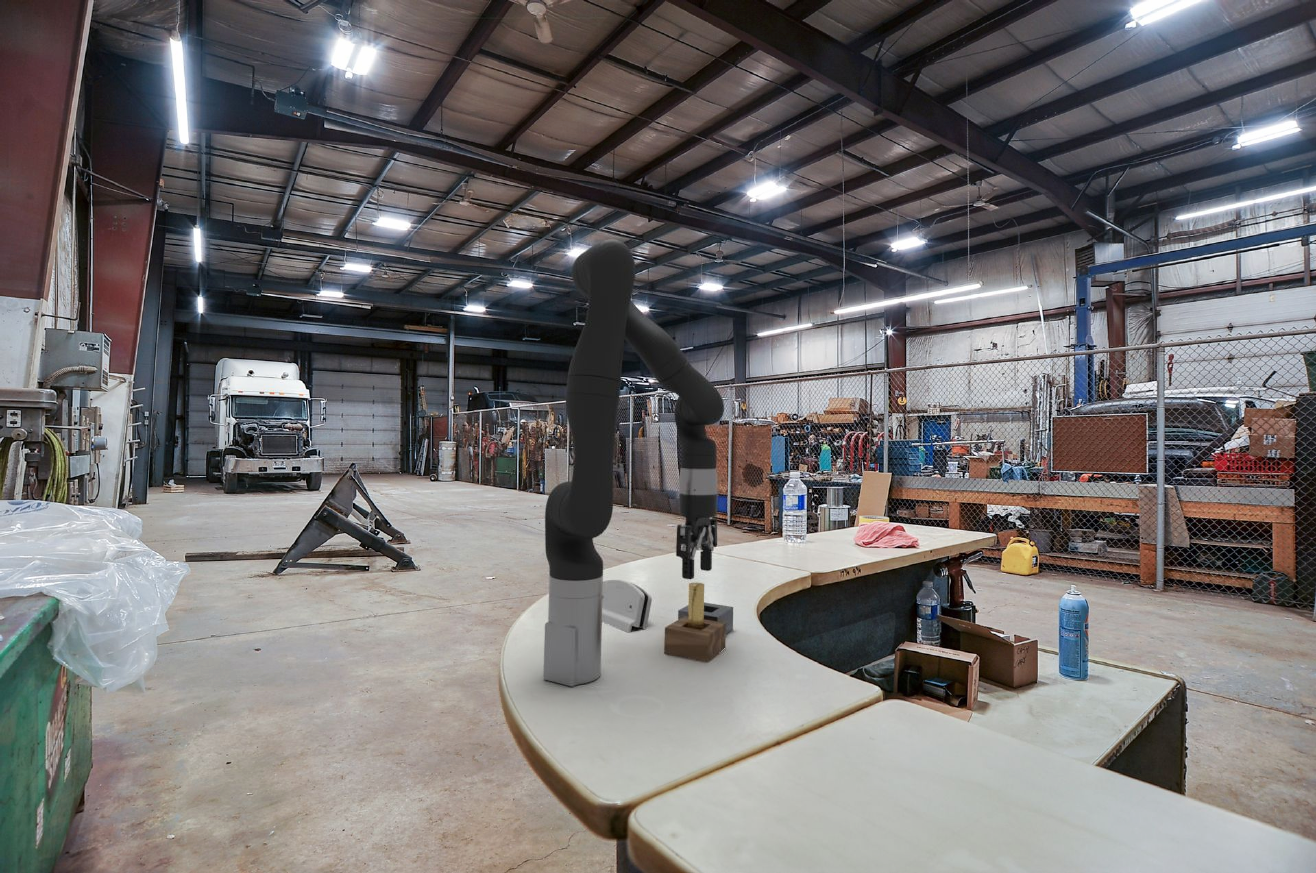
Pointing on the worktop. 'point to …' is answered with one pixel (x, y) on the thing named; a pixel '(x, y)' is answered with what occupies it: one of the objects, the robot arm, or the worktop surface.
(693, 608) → the pin
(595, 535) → the robot arm
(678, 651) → the mount
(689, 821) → the worktop surface
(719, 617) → the socket block
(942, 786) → the worktop surface
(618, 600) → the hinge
